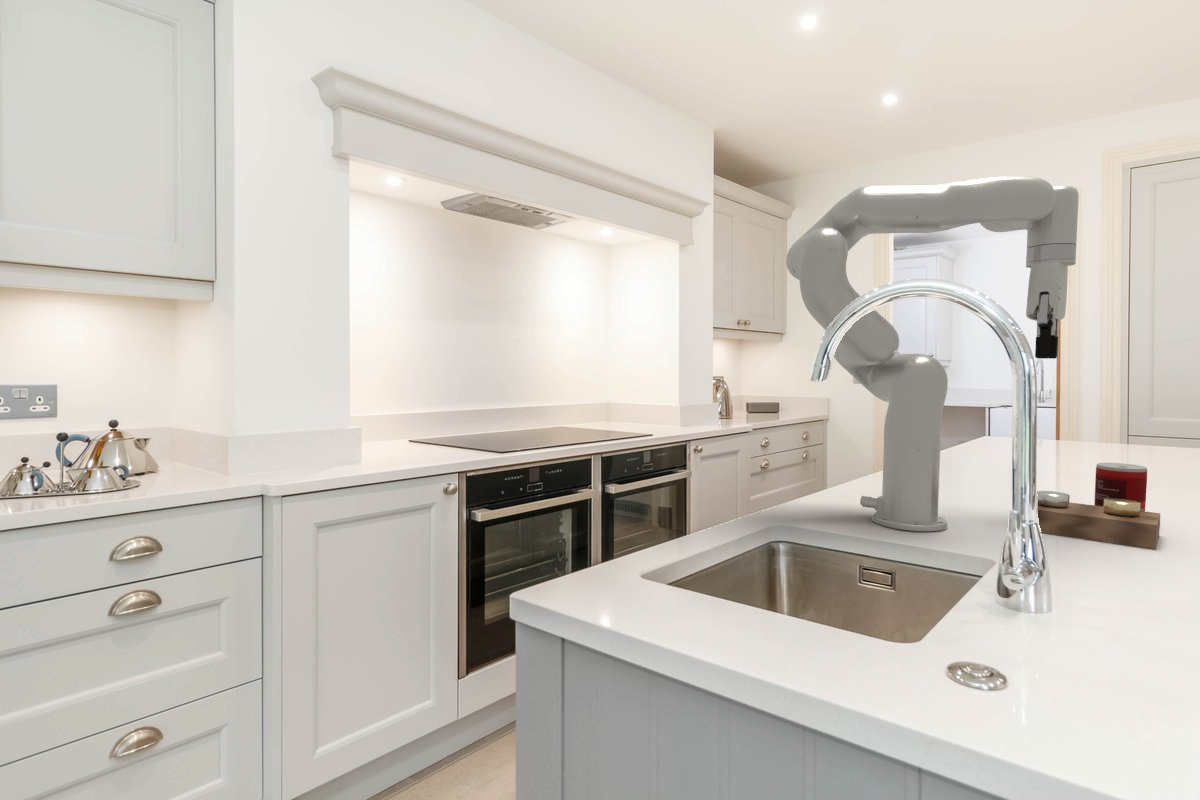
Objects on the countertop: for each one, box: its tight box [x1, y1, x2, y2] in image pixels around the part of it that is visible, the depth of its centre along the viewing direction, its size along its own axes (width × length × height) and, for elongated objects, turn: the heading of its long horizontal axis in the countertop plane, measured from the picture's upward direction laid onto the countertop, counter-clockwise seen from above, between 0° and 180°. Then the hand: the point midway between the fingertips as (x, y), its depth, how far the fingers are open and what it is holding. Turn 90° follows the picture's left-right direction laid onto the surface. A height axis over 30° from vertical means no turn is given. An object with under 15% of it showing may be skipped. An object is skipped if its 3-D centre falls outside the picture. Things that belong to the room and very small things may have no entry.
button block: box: [1038, 501, 1161, 550], centre depth 119 cm, size 20×12×4 cm, turn 48°
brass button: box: [1103, 498, 1140, 517], centre depth 116 cm, size 5×5×6 cm
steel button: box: [1036, 490, 1071, 509], centre depth 122 cm, size 5×5×6 cm
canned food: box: [1093, 462, 1148, 512], centre depth 126 cm, size 8×8×11 cm
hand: (1046, 358), depth 122 cm, fingers closed
